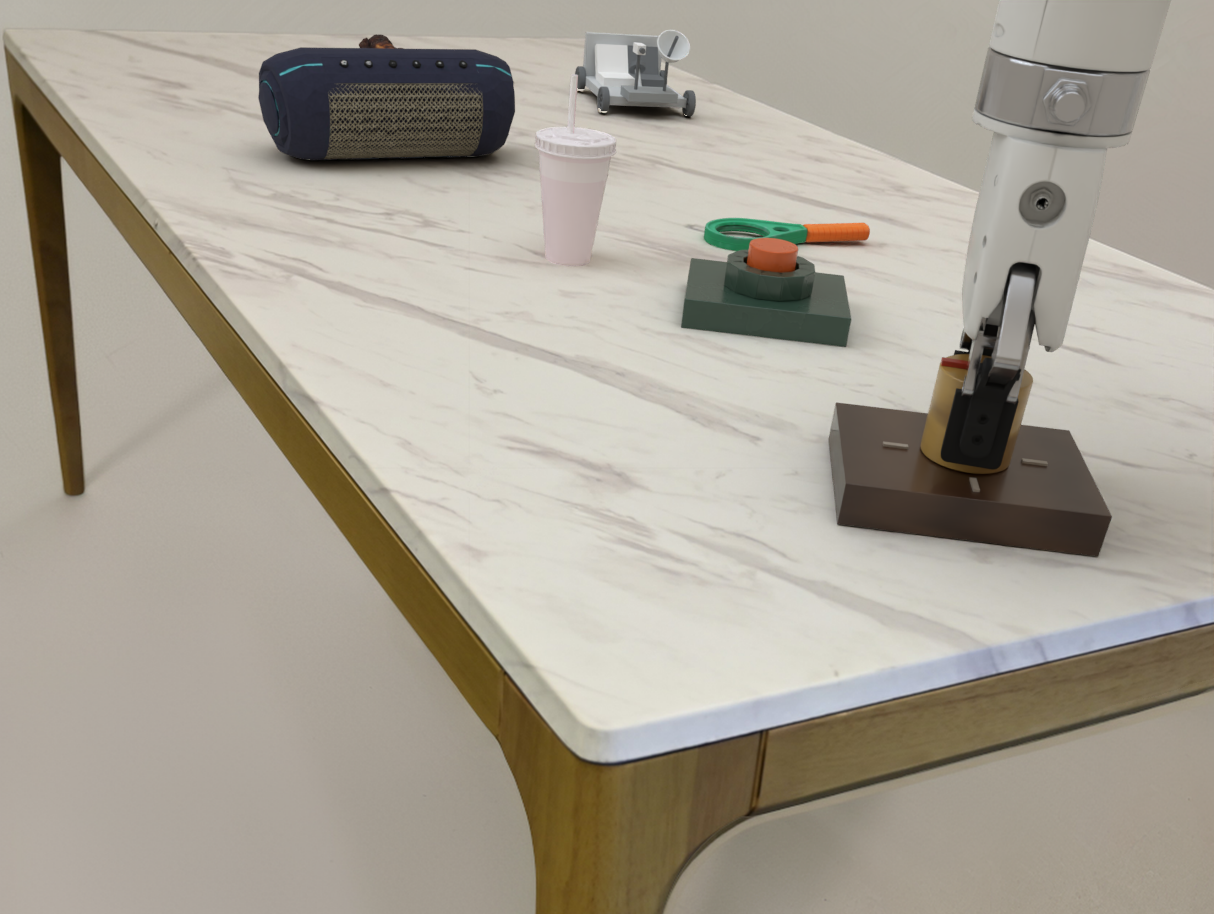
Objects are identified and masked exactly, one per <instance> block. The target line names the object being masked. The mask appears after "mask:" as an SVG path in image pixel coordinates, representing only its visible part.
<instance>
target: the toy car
mask: <svg viewBox="0 0 1214 914" xmlns="http://www.w3.org/2000/svg"><path fill="white" fill-rule="evenodd" d="M584 35H585V36H584V47H583V48H584V49H583V61H582V65H578V66H576V68H575V71H574V74H576V75H578V84H577V88H578V89H586V88H587V89H588V90H589V91H591V92H592V94H594V95H595V96H596V97H597V98H596V105H597V109H598V108H600V109H601V111H608V112H609V110H610V106H624V107H625V106H626V107H648V108H649V107H652V108H678V109H681V110H682V114H683V113H684V114H685V115H687V116H692V117H693V116H694V114H695V112H696V105H697V97H696V92H695V91H694V90H692V89H691V90H690V89H686V90H685V91H684V92H683V95H681V94H680V93H679V92H678V91H676V90H675V89H674V88H672V87H671V86H669V85H668V75H669V65H670V64H675V63H678V62H680V61H682V60H684V59H686V58H687V56H688V55H689V54H690V52H691V44H690V41H689V38H688V37H687V36H685V34H683V33H682V32H681V31H679V30H677V29H666V30H663V31H662V32H660V33H659V35H652V34H651V35H650V34H633V33H616V32H615V33H614V32H596V31H595V32H594V31H585V33H584ZM662 60H663V61H664V62H665V64H664V69H661V68H662Z"/></svg>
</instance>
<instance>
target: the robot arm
mask: <svg viewBox="0 0 1214 914" xmlns="http://www.w3.org/2000/svg"><path fill="white" fill-rule="evenodd" d="M1171 2H1172V0H998V3H997V8H996V11H995V17H994V21H993V25H992V29H991V34H990V37H989V43H988V48H987V50H986V55H985V60H984V65H983V68H982V73H981V77H980V82H979V86H978V90H977V95H976V98H975V104H974V107H973V112H972V117H971V121H972V122H973V123H974V124H975V125H978V126H979V127H980V128H983V129H985V130H987V131H990V132H992V136H991V141H990V146H989V149H988V154H987V157H986V161H985V167H984V169H983V174H982V179H981V183H980V187H979V192H978V197H977V199H976V200H977V201H976V204H975V209H974V214H973V219H972V223H971V228H970V234H969V239H968V245H967V250H966V257H965V264H964V269H963V276H962V277H963V279H962V284H961V285H962V287H961V310H962V325H963V328H962V333H961V335H960V340H959V347H958V349H959V350H958V349H954V351H953V355H958V354H970V355H969V359H968V364H967V368H966V373H965V377H964V382H963V387H962V389H958V388H956V391H955V395H954V399H953V403H952V407H951V411H950V415H949V419H948V423H947V427H946V431H945V435H944V439H943V443H942V447H941V458H942V460H943V461H945V462H950V463H956V464H962V465H968V466H974V467H980V468H986V469H992V470H994V469H997V468H999V467H1000V466H1001V463H1002V459H1003V456H1004V452H1005V449H1006V445H1007V442H1008V438H1009V434H1010V431H1011V427H1012V424H1013V420H1014V417H1015V413H1016V409H1017V406H1018V402H1019V401H1018V394H1019V390H1020V386H1021V382H1022V377H1023V373H1024V369H1025V370H1026V364H1027V360H1028V355H1029V351H1030V348H1031V343H1032V339H1033V334H1034V330H1036V336H1037V341H1038V346H1042V347H1044V350H1045V352H1047V353H1054V352H1056V351H1057V350H1059V349H1060V348H1061V347H1062V346H1063V344H1064V340H1065V337H1066V333H1067V329H1068V324H1069V321H1070V317H1071V312H1072V308H1073V303H1074V301H1075V297H1076V292H1077V290H1078V289H1077V288H1078V285H1079V281H1080V277H1081V272H1082V269H1083V265H1084V260H1085V257H1086V253H1087V249H1088V245H1089V241H1090V237H1091V233H1092V230H1093V229H1092V228H1093V226H1094V225H1093V224H1094V220H1095V217H1096V211H1097V208H1098V202H1099V198H1100V193H1101V188H1102V183H1103V177H1104V172H1105V166H1106V159H1107V153H1108V149H1115V148H1116V149H1117V148H1122V147H1125V146H1127V145H1129V143H1130V140H1131V137H1132V135H1133V134H1132V133H1133V130H1134V127H1135V124H1136V120H1137V117H1138V114H1139V110H1140V107H1141V104H1142V100H1143V97H1144V94H1145V90H1146V86H1147V84H1148V81H1149V77H1150V72H1151V69H1152V66H1153V62H1154V59H1155V57H1156V56H1155V55H1156V52H1157V49H1158V46H1159V42H1160V39H1161V36H1162V32H1163V30H1164V29H1163V28H1164V25H1165V22H1166V19H1167V16H1168V12H1169V9H1170V5H1171ZM982 355H985V356H990V357H991V358H987V357H985V359H984V360H983V362H982V363H980V362H981V358H982Z"/></svg>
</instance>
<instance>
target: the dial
mask: <svg viewBox="0 0 1214 914" xmlns="http://www.w3.org/2000/svg"><path fill="white" fill-rule="evenodd" d="M969 355H970V354H958V355H954V354H952V355H948V356H946V357H944V356H943V357H941V360H940V362H939V365H938V368H937V374H936V378H935V383H934V385H933V391H932V395H931V399H930V404H929V407H928V411H927V413H928V415H927V419H926V423H925V428H924V432H923V436H922V440H921V445H920V446H921V450H922V452H923V453H924V455H925V456H926V457H928V458H929V459H930V460H932V461H934V462H935V463H937V464H939V465H942V466H944V467H947V468H950V469H953V470H957V471H961V472H966V473H974V474H991V473H997V472H1000V471H1003V470H1005V469H1006V468H1007V467H1008V466H1009V465H1010V462H1011V458H1012V455H1013V451H1014V448H1015V444H1016V441H1017V437H1018V434H1019V430H1020V427H1021V425H1022V422H1023V420H1024V415H1025V412H1026V408H1027V405H1028V402H1029V399H1030V396H1031V395H1030V394H1031V391H1032V388H1033V384H1034V378H1033V375H1032V374H1031V373H1030V372H1029V371H1028V370H1027V369H1026V368H1025V369H1024V373H1023V377H1022V382H1021V386H1020V390H1019V394H1018V401H1019V402H1018V406H1017V409H1016V413H1015V417H1014V420H1013V424H1012V427H1011V431H1010V434H1009V438H1008V442H1007V445H1006V449H1005V452H1004V456H1003V459H1002V463H1001V466H1000V467H999V468H997V469H994V470H992V469H986V468H980V467H974V466H968V465H962V464H956V463H950V462H945V461H943V460H942V458H941V447H942V443H943V439H944V435H945V431H946V427H947V423H948V419H949V415H950V411H951V407H952V403H953V399H954V395H955V391H956V388H958V389H962V387H963V382H964V377H965V373H966V368H967V364H968V359H969ZM985 357H987V358H991V357H990V356H985V355H982V358H981V362H980V363H982V362H983V360H984V359H985Z"/></svg>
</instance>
